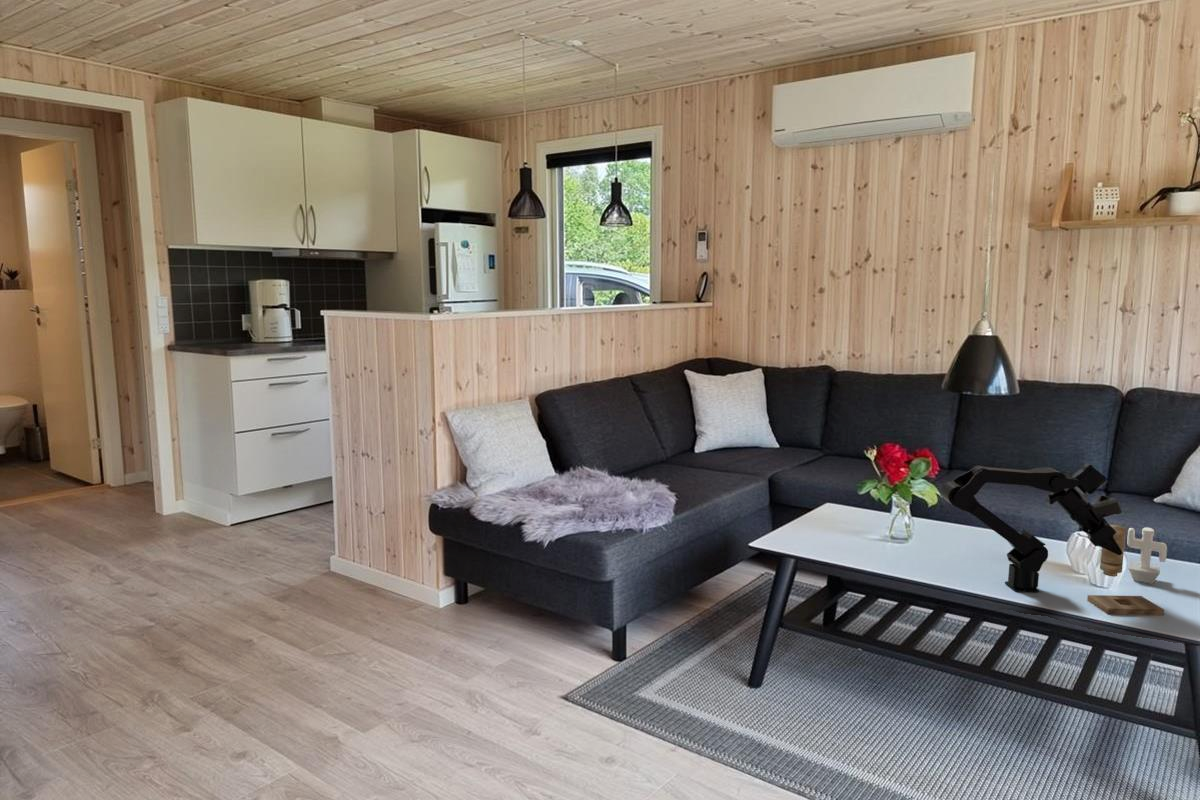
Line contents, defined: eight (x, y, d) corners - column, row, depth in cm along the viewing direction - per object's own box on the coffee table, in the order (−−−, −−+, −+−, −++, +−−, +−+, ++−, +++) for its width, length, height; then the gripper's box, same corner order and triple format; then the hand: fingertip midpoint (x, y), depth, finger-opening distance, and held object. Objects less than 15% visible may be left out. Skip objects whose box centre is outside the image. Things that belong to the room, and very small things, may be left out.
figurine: (1163, 587, 226) (1168, 534, 224) (1122, 580, 231) (1127, 528, 229) (1163, 579, 231) (1169, 528, 229) (1124, 572, 237) (1129, 522, 235)
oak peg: (1106, 577, 216) (1111, 530, 214) (1095, 570, 221) (1100, 524, 219) (1125, 577, 216) (1130, 530, 214) (1113, 571, 221) (1118, 524, 219)
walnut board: (1107, 614, 206) (1108, 608, 206) (1087, 600, 215) (1087, 595, 215) (1163, 615, 206) (1164, 609, 206) (1140, 601, 215) (1141, 596, 215)
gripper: (1110, 496, 208) (1156, 543, 206) (1094, 480, 225) (1137, 523, 223) (1072, 522, 212) (1116, 569, 209) (1059, 505, 229) (1100, 547, 227)
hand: (1118, 551), depth 217 cm, fingers closed on oak peg, 5 cm apart
